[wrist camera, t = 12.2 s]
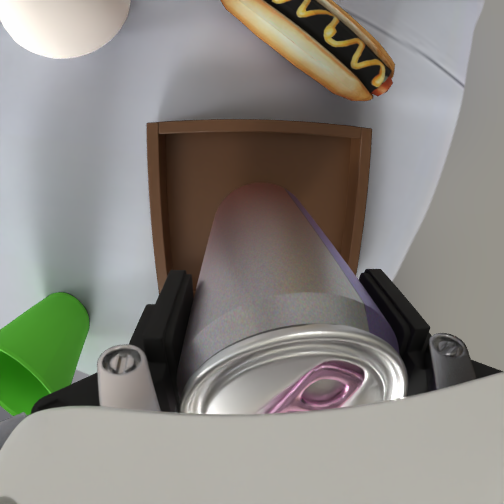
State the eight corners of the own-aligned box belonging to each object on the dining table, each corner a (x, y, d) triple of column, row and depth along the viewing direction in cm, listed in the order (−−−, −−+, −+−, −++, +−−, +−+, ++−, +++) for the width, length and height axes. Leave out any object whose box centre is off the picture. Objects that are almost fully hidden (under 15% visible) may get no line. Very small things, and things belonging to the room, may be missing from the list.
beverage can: (322, 209, 20) (456, 367, 6) (276, 281, 22) (319, 484, 8) (241, 163, 19) (248, 270, 5) (198, 243, 21) (141, 445, 7)
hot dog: (341, 120, 20) (368, 119, 16) (201, 8, 17) (192, -19, 12) (381, 78, 19) (414, 69, 15) (246, -31, 16) (249, -64, 11)
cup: (18, 293, 25) (-42, 357, 15) (69, 255, 24) (-4, 326, 13) (69, 359, 28) (29, 434, 18) (126, 334, 27) (88, 425, 17)
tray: (167, 293, 25) (161, 310, 23) (156, 123, 20) (146, 123, 18) (341, 292, 26) (350, 308, 23) (358, 127, 21) (372, 128, 18)
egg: (107, 83, 19) (6, 61, 8) (47, 48, 17) (-52, 25, 6) (167, 5, 17) (113, -76, 6) (101, -24, 15) (29, -86, 4)
